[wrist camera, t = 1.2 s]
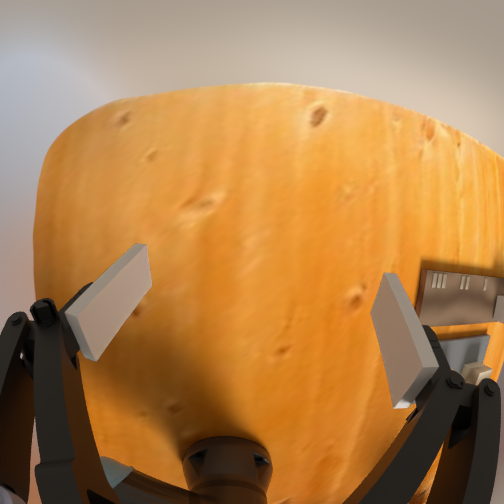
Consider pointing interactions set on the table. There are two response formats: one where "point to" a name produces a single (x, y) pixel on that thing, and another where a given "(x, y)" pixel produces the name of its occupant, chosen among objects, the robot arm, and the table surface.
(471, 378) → the maple block
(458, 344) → the charcoal board
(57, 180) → the table surface
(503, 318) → the grey knob
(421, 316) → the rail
